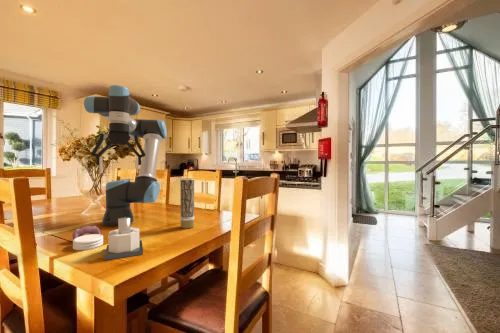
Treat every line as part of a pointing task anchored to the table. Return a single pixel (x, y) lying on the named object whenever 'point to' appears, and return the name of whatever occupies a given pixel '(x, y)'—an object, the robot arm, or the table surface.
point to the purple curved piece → (85, 231)
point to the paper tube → (187, 203)
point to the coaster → (87, 242)
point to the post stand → (123, 229)
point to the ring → (123, 241)
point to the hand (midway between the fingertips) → (119, 173)
